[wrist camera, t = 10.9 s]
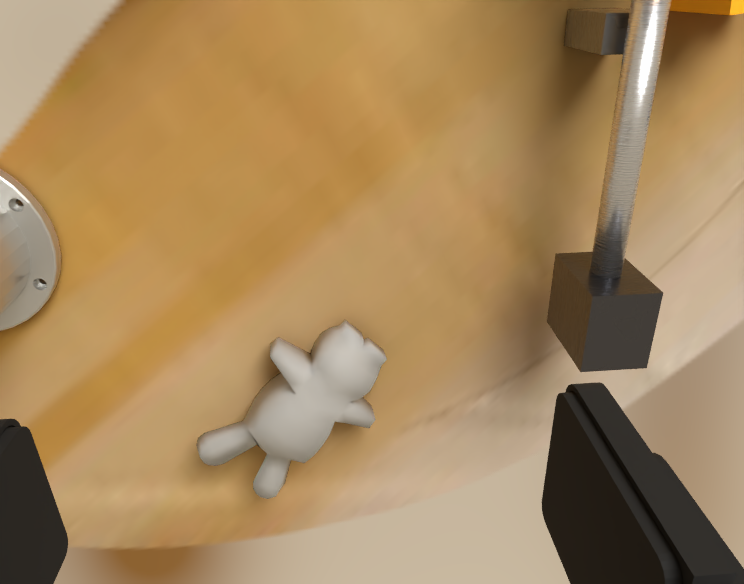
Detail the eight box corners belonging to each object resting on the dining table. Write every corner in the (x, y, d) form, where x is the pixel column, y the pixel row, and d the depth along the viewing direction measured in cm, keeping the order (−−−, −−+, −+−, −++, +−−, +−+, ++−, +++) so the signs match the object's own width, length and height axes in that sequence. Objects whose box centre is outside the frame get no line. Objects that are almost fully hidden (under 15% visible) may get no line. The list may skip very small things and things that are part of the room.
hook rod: (604, 318, 41) (646, 367, 36) (547, 321, 41) (580, 371, 36) (672, -67, 31) (744, -78, 26) (595, -66, 31) (652, -76, 25)
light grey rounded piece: (418, 391, 43) (281, 528, 46) (404, 358, 48) (280, 483, 50) (319, 314, 40) (176, 466, 42) (314, 286, 44) (186, 424, 47)
